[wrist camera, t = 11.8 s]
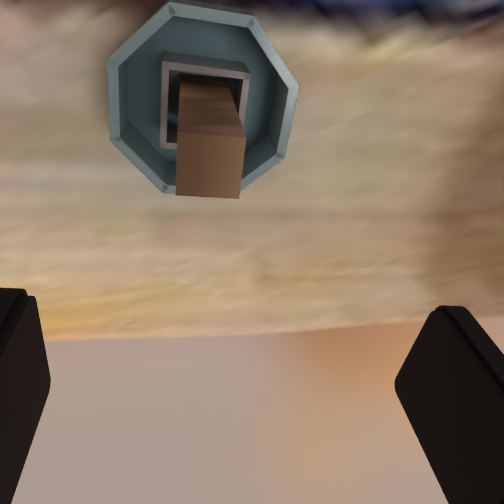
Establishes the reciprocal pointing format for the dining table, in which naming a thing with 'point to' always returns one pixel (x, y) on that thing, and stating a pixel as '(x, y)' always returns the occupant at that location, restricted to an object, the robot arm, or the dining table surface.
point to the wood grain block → (208, 139)
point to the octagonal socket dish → (199, 63)
